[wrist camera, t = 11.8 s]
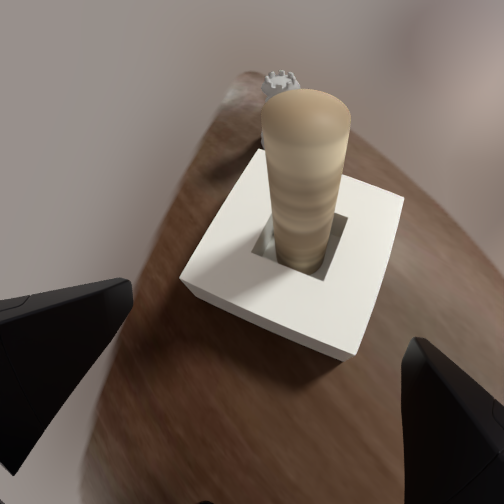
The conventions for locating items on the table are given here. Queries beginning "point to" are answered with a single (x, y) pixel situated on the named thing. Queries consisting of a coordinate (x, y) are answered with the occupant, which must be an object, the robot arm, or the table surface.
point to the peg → (304, 172)
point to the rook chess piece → (278, 86)
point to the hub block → (291, 281)
